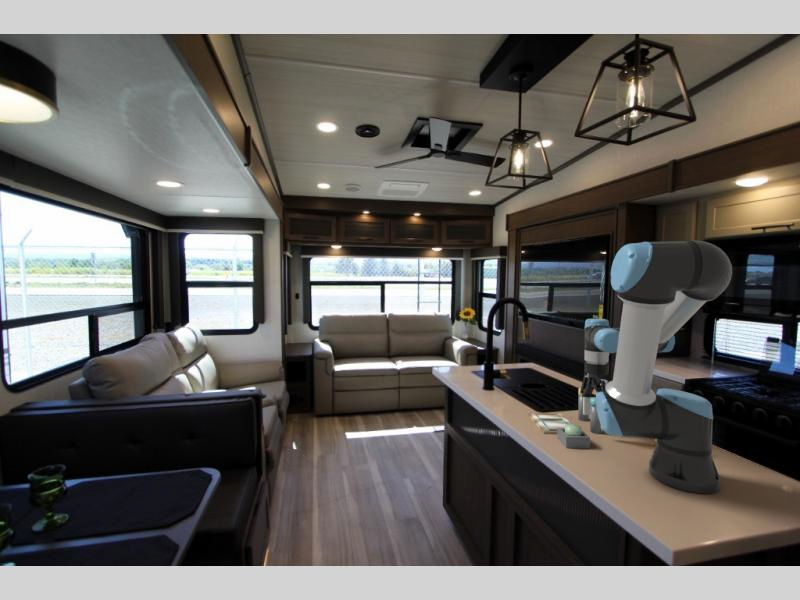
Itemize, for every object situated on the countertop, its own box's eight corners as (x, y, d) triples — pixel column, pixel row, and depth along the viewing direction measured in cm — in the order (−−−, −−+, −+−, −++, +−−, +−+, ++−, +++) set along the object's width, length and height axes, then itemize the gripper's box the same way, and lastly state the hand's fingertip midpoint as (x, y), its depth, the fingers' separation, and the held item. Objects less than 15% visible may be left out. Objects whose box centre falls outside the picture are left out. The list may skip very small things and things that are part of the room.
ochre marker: (590, 421, 138) (590, 390, 138) (580, 421, 138) (581, 390, 138) (586, 417, 142) (586, 387, 141) (576, 417, 142) (576, 387, 141)
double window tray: (581, 433, 126) (581, 430, 126) (543, 433, 127) (543, 429, 127) (561, 415, 144) (561, 412, 144) (528, 415, 145) (528, 412, 145)
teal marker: (604, 434, 126) (604, 400, 126) (593, 433, 126) (593, 400, 126) (598, 429, 130) (598, 397, 129) (588, 429, 130) (588, 397, 130)
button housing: (589, 448, 115) (590, 437, 115) (566, 447, 116) (566, 437, 116) (579, 438, 123) (579, 428, 123) (557, 438, 123) (557, 428, 123)
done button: (584, 441, 117) (584, 429, 116) (568, 441, 117) (568, 429, 117) (577, 434, 122) (577, 423, 121) (562, 434, 122) (562, 423, 122)
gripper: (627, 370, 115) (626, 435, 116) (590, 355, 139) (590, 409, 140) (603, 370, 115) (602, 435, 116) (571, 355, 140) (570, 409, 141)
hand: (595, 421), depth 128 cm, fingers open, 12 cm apart
